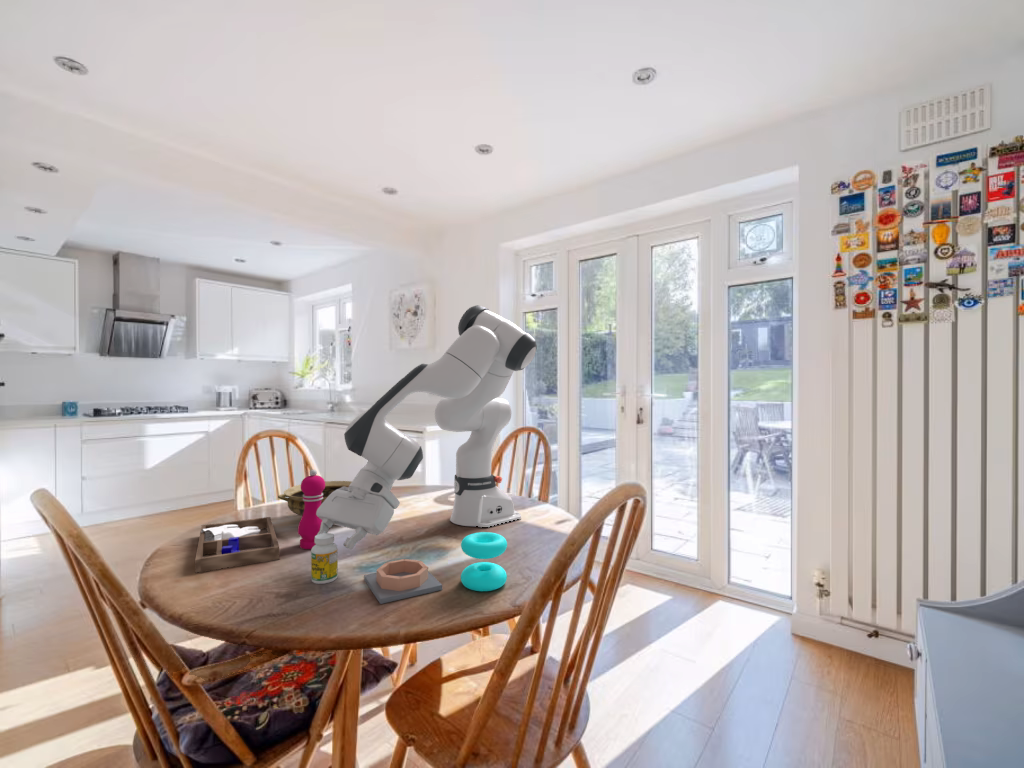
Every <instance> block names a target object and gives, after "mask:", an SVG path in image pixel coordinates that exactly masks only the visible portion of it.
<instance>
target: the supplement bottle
mask: <svg viewBox="0 0 1024 768" xmlns="http://www.w3.org/2000/svg"><path fill="white" fill-rule="evenodd" d="M314 542H315V544H316V545H314V546H313V547H312V549H310V550H311V551H310V556H311V558H310V561H311V562H310V563H311V564H310V565H311V566H310V567H311V569H310V570H311V573H310V574H311V575H310V576H311V577H310V578H311V582H312V583H314V584H316V585H322V584H330V583H332V582H334V581H336V580H337V578H338V576H339V575H338V570H339V569H338V561H339V559H338V553H339V552H338V551H339V549H338V545H337V544H336V543H335V534H334V533H331V532H327V533H323V534H319V535H316V536H315V541H314Z"/></svg>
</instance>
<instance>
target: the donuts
mask: <svg viewBox="0 0 1024 768" xmlns="http://www.w3.org/2000/svg"><path fill="white" fill-rule="evenodd" d="M507 548H508V541H507V539H506V538H505V537H504V536H503V535H501V534H499V533H495V532H492V531H490V532H489V531H480V532H474V533H471V534H470V533H469V534H468V535H466V536H464V537H463V538H462V540H461V542H460V549H461V550H462V552H463V553H464V554H465V555H467V556H468V557H471V558H473V559H478V560H490V559H495V558H497V557H499V556H501V555H502V554H504V553H505V552H506V550H507ZM460 580H461V583H462V585H463V586H464V587H465V588H467V589H469V590H471V591H476V592H491V591H495V590H497V589H498V590H499V589H500V588H502V587H503V586H504V585H505V584H506V582H507V580H508V575H507V572H506V570H505V569H504V567H502V566H501V565H499V564H498V563H493V562H490V561H479V562H474V563H472V564H469V565H467V566H466V567H465V568H463V570H462V571H461V574H460Z"/></svg>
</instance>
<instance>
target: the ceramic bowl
mask: <svg viewBox="0 0 1024 768" xmlns="http://www.w3.org/2000/svg"><path fill="white" fill-rule="evenodd" d="M324 481H325V480H324ZM352 481H353V480H329V481H328V480H327V481H325V488H324V490H323V491H322V493H323V499H322V501H321V504H322V503H323V502H324V501H325V499H326V498H327V497H328V496H329V495H330V494H331V493H332V492H333V491H335V490H337V489H339V488H341V487H349V485H350V484H351V482H352ZM303 495H304V493H303V492H302V490H301V483H300V484H297V485H293V486H291V487H289V488H287V489H285V490H284V491H283V493H282V494H278V495H277V499H280V500H282V501H285V502H287V507H288V509H289V510H290V511H291V512H292V513H293V514H295V515H297V516H301V517H302V516H303V513H304V507H305V503H304V501H303Z"/></svg>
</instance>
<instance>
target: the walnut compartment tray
mask: <svg viewBox="0 0 1024 768" xmlns="http://www.w3.org/2000/svg"><path fill="white" fill-rule="evenodd" d="M223 525H238V527H239V528H240V529H241V528H244V527H254V526H255V527H258V529H259V530H263V528H265V529H266V531H268V532H265V533H259V534H256V535H249V536H242V537H239V550H240V551H241V552H234V553H228V554H222V547H223V546H228V540H229V538H227V539H220V540H213V541H206V542H205V532H201V530H202V529H207V528H213V527H220V526H223ZM266 546H267V547H266ZM268 546H269V547H268ZM258 547H259V548H258ZM253 548H254V549H253ZM255 548H256V549H255ZM247 549H248V550H247ZM213 553H214V554H215V555H214V554H213ZM205 554H207V555H210V556H205ZM276 560H280V545H279V542H278V538H277V535H276V532H275V527H274V525H273V522H272V518H271V516H264V517H257V518H249V519H242V520H233V521H232V520H231V521H226V522H224V521H223V522H215V523H210V524H209V523H208V524H202V525H201V527H200V532H199V537H198V542H197V548H196V554H195V559H194V563H195V565H194V567H195V568H194V571H195V574H198V573H197V572H199V573H203V572H202V571H205V572H210V570H211V571H216V569H217V570H222V569H221V568H223V569H228V568H227V567H229V568H234V567H233V566H235V567H240V566H248V565H253V564H260V563H265V562H271V561H276Z"/></svg>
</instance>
